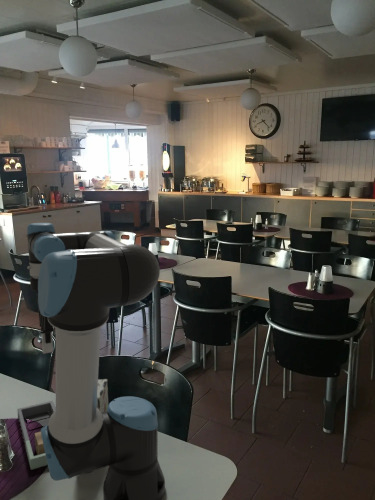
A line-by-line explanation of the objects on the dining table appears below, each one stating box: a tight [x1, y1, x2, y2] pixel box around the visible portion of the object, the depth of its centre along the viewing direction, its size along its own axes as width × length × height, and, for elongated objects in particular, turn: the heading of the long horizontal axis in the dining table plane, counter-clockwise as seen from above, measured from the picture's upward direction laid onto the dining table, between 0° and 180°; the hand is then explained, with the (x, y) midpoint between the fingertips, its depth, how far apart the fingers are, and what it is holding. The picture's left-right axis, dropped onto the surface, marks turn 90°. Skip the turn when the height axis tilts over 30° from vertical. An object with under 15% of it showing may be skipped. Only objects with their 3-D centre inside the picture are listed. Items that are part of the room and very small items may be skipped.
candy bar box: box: [97, 378, 109, 412], centre depth 125 cm, size 11×5×16 cm, turn 179°
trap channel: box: [17, 400, 56, 471], centre depth 127 cm, size 28×11×3 cm, turn 28°
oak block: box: [34, 431, 45, 455], centre depth 120 cm, size 6×6×5 cm
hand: (47, 351), depth 128 cm, fingers closed
